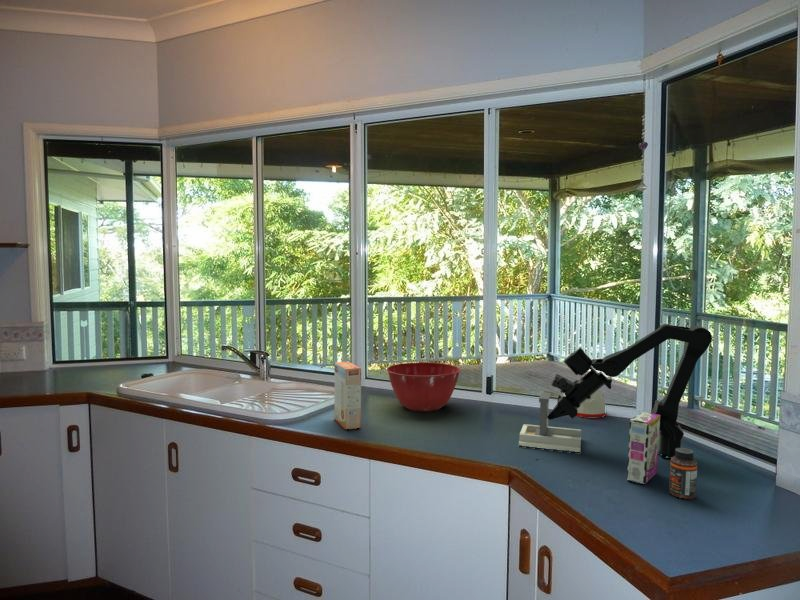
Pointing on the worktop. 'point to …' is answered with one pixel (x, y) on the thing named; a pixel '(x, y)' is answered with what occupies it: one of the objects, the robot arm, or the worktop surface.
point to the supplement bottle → (683, 474)
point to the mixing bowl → (423, 384)
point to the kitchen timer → (593, 406)
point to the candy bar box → (643, 447)
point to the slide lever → (544, 416)
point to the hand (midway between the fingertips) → (548, 418)
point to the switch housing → (551, 438)
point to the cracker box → (347, 395)
